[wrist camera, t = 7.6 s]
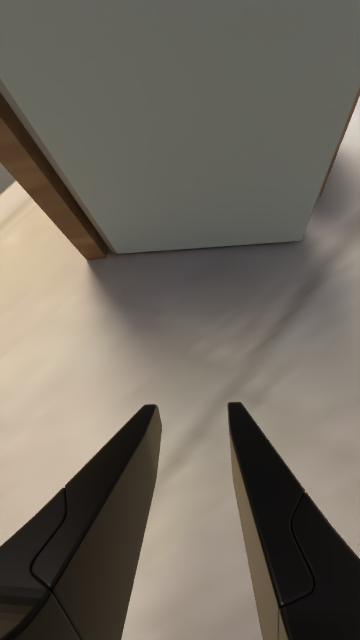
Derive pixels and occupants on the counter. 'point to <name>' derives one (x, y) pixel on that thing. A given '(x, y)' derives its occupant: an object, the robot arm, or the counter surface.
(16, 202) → the counter surface
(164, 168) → the grey square panel
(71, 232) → the stool frame
